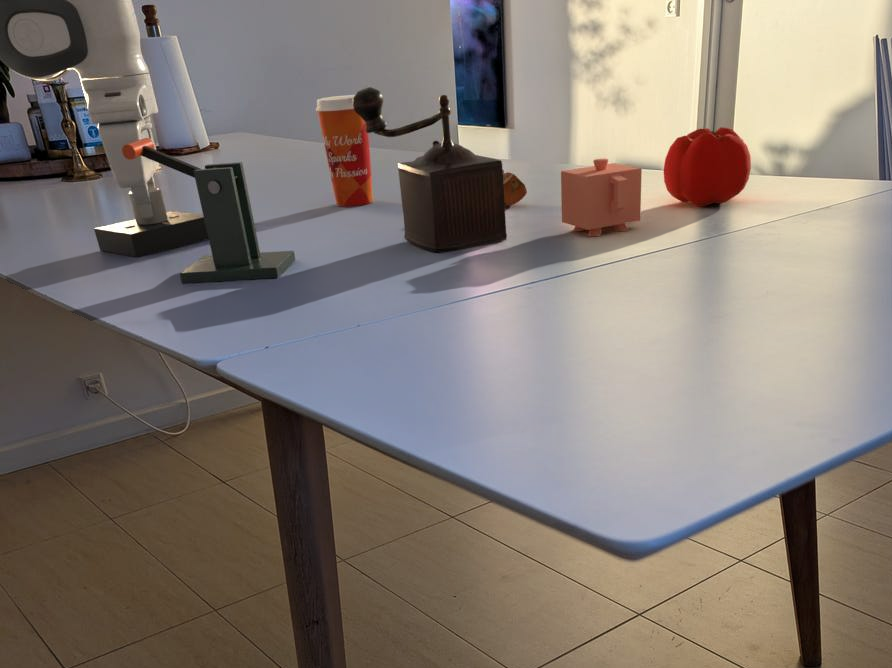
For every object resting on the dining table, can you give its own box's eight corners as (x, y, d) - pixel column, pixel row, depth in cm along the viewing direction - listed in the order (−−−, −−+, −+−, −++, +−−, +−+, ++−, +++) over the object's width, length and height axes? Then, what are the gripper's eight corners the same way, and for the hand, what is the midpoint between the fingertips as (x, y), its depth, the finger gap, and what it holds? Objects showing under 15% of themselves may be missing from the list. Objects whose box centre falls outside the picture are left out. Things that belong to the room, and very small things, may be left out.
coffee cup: (321, 208, 147) (305, 101, 139) (341, 198, 154) (326, 96, 145) (370, 207, 145) (356, 98, 137) (387, 197, 152) (375, 93, 143)
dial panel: (136, 257, 126) (130, 232, 124) (100, 250, 132) (93, 227, 130) (215, 237, 133) (210, 214, 132) (177, 232, 139) (172, 209, 137)
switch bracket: (181, 283, 111) (155, 175, 104) (205, 265, 118) (182, 164, 111) (277, 277, 110) (257, 168, 103) (295, 260, 117) (277, 157, 110)
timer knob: (173, 220, 130) (165, 187, 128) (144, 226, 128) (135, 192, 126) (159, 217, 133) (151, 185, 131) (131, 223, 131) (122, 190, 129)
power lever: (120, 160, 105) (123, 138, 104) (140, 153, 110) (143, 131, 108) (223, 202, 107) (227, 181, 105) (238, 193, 112) (242, 173, 110)
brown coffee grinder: (470, 227, 126) (459, 75, 116) (509, 240, 118) (500, 77, 108) (366, 246, 121) (345, 88, 111) (398, 260, 113) (378, 91, 102)
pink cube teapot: (601, 218, 125) (601, 150, 121) (648, 231, 116) (651, 159, 111) (550, 226, 123) (548, 158, 118) (595, 241, 114) (594, 167, 109)
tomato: (673, 195, 135) (676, 125, 130) (756, 195, 130) (762, 123, 125) (652, 209, 127) (654, 136, 122) (738, 210, 123) (745, 134, 118)
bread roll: (535, 207, 135) (534, 170, 132) (492, 213, 133) (490, 176, 131) (515, 199, 142) (513, 163, 139) (474, 205, 140) (471, 169, 137)
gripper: (108, 98, 130) (136, 204, 138) (85, 109, 114) (117, 229, 121) (153, 94, 131) (178, 199, 139) (136, 104, 114) (166, 223, 122)
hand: (150, 213), depth 130 cm, fingers closed on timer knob, 4 cm apart
